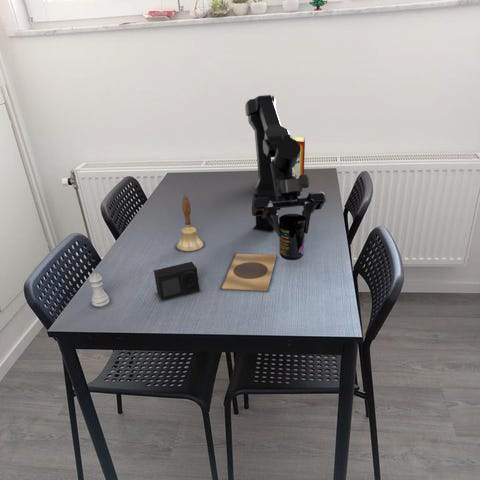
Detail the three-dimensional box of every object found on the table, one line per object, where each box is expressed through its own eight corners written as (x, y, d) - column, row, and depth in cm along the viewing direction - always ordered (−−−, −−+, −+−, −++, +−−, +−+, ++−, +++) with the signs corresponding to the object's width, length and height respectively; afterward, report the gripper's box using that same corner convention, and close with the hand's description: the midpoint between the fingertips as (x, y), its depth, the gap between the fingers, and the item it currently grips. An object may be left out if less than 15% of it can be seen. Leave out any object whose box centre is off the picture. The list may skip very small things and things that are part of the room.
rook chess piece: (93, 299, 125) (87, 272, 121) (111, 297, 125) (105, 270, 121) (90, 308, 121) (83, 280, 117) (108, 306, 122) (102, 279, 117)
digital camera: (162, 303, 122) (158, 279, 118) (157, 293, 126) (153, 270, 122) (201, 293, 125) (198, 269, 121) (194, 284, 129) (191, 261, 125)
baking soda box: (280, 181, 197) (280, 141, 188) (280, 176, 202) (280, 137, 193) (303, 181, 196) (304, 140, 187) (303, 176, 201) (304, 136, 192)
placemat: (236, 254, 143) (236, 253, 143) (276, 256, 141) (276, 254, 141) (222, 288, 127) (222, 287, 126) (267, 291, 125) (267, 289, 124)
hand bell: (207, 241, 152) (203, 192, 143) (197, 252, 145) (191, 201, 136) (183, 238, 154) (177, 190, 145) (172, 249, 148) (165, 199, 139)
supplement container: (298, 263, 125) (299, 225, 119) (274, 258, 127) (274, 221, 122) (308, 252, 130) (309, 215, 124) (285, 248, 132) (285, 212, 126)
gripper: (252, 166, 118) (261, 226, 115) (325, 159, 119) (337, 218, 117) (247, 187, 128) (256, 242, 126) (315, 181, 130) (325, 235, 128)
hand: (293, 234), depth 124 cm, fingers closed on supplement container, 7 cm apart
